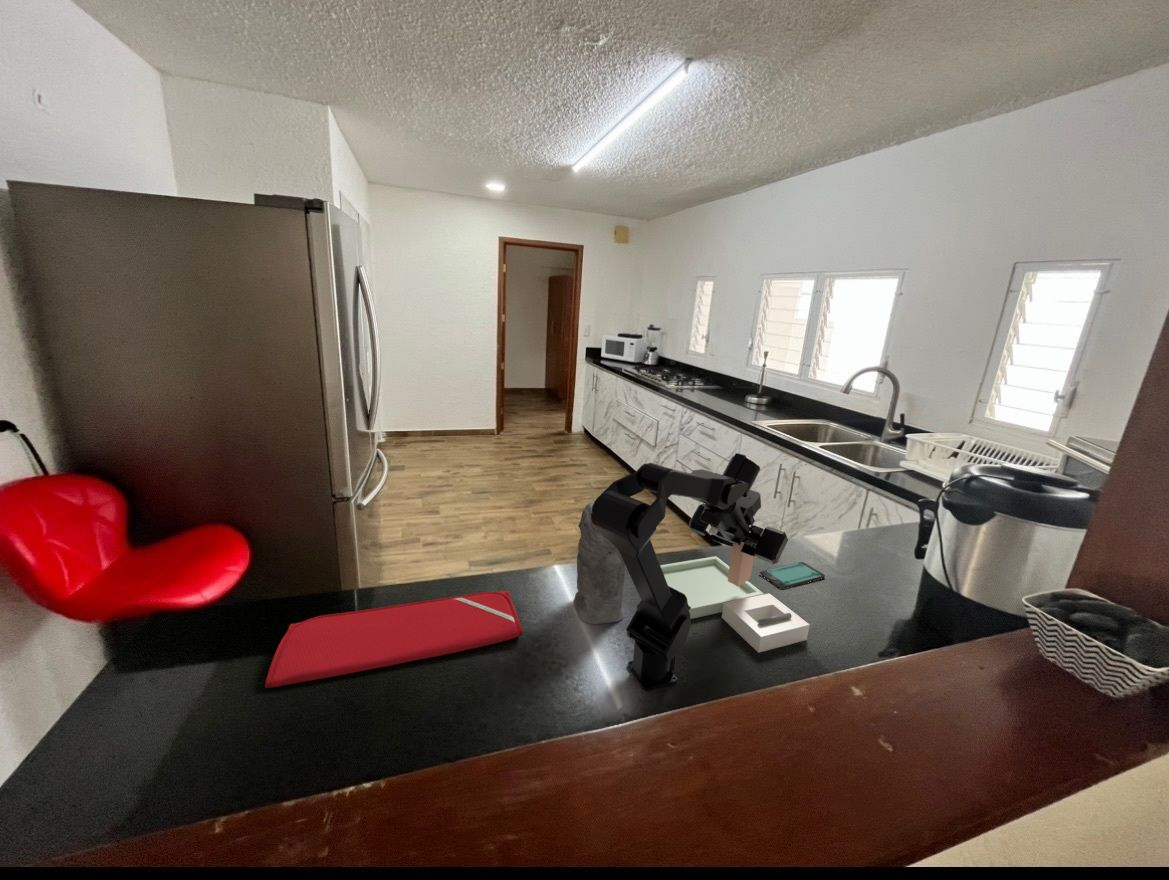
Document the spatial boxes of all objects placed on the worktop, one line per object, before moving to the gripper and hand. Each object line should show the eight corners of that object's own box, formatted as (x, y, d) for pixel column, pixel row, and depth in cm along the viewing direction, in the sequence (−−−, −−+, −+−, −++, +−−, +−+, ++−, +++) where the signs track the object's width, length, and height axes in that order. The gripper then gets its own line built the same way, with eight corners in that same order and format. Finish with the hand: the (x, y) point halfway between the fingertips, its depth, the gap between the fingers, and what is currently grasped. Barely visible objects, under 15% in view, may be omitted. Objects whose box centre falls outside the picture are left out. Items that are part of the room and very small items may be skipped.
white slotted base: (758, 652, 86) (762, 632, 85) (721, 617, 96) (724, 598, 95) (806, 639, 91) (810, 620, 90) (766, 607, 101) (770, 589, 100)
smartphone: (758, 571, 114) (802, 560, 120) (758, 575, 114) (801, 565, 120) (782, 586, 108) (827, 575, 114) (781, 591, 108) (826, 579, 114)
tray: (685, 620, 95) (686, 609, 94) (645, 576, 110) (646, 567, 109) (761, 603, 102) (763, 593, 101) (714, 564, 117) (716, 556, 117)
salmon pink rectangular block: (737, 586, 97) (744, 538, 94) (727, 581, 99) (734, 534, 96) (750, 578, 100) (757, 532, 97) (740, 573, 102) (747, 528, 99)
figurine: (608, 587, 105) (616, 484, 99) (630, 626, 92) (641, 511, 85) (567, 591, 102) (572, 486, 96) (583, 633, 89) (590, 514, 83)
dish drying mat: (291, 630, 86) (289, 612, 86) (508, 598, 100) (508, 582, 99) (265, 694, 72) (262, 674, 71) (523, 646, 86) (523, 629, 85)
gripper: (792, 494, 84) (804, 532, 94) (703, 468, 96) (722, 504, 107) (767, 546, 80) (783, 580, 91) (677, 512, 93) (700, 545, 104)
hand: (745, 548), depth 98 cm, fingers closed on salmon pink rectangular block, 3 cm apart
